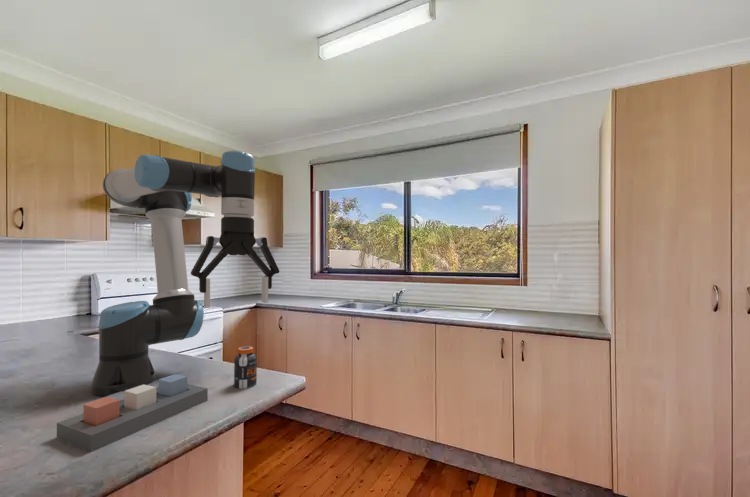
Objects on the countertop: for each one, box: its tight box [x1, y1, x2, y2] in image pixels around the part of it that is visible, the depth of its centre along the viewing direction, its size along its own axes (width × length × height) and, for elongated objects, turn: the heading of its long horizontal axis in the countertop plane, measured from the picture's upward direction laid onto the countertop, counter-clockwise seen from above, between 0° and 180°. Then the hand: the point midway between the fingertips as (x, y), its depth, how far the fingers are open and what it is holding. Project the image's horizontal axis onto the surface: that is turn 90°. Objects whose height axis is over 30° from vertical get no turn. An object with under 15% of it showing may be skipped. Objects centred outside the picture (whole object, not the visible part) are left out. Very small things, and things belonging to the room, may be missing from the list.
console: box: [56, 383, 209, 453], centre depth 83 cm, size 12×26×4 cm, turn 155°
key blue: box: [158, 373, 188, 397], centre depth 91 cm, size 4×4×4 cm
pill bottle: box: [233, 345, 258, 390], centre depth 104 cm, size 6×6×11 cm
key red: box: [82, 396, 120, 427], centre depth 76 cm, size 4×4×4 cm
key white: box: [123, 384, 157, 411], centre depth 83 cm, size 4×4×4 cm
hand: (237, 304), depth 90 cm, fingers open, 13 cm apart
